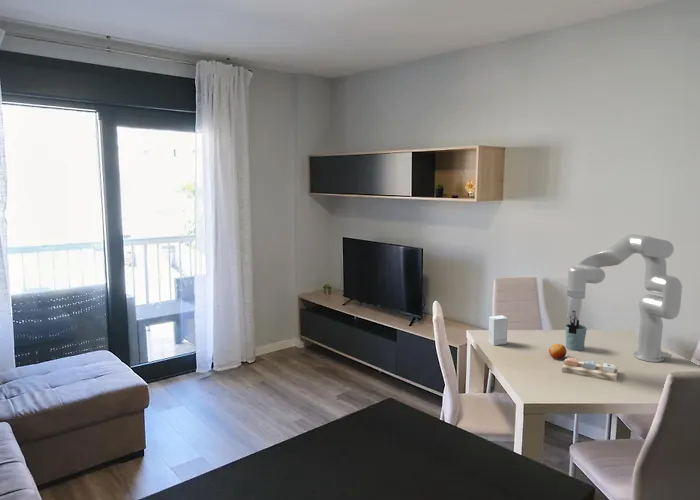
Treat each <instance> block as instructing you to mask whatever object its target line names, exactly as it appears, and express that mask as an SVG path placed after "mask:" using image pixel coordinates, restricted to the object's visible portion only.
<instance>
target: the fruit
mask: <svg viewBox="0 0 700 500" xmlns="http://www.w3.org/2000/svg"><path fill="white" fill-rule="evenodd" d="M548 353H549V355H550V356H551V358H554V359H555V360H565V359H566V358H565V357H566V354H567V348H566V346H564V344H562V343H554V344H552V345H551V346H550V347H549V348H548Z"/></svg>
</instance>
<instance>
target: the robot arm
mask: <svg viewBox="0 0 700 500" xmlns="http://www.w3.org/2000/svg"><path fill="white" fill-rule="evenodd" d="M674 249H675V248H674V245H673V243H672V242H670V241H669V240H667V239H661V238H657V237H653V236H647V235H640V234H631V233H629V234H627V235H624V236H623V237H622V238H620V239H619V240H617V242H615V243H614V244H613V245H611V246H610V247H609V248H608V249H606V250H603V251H600V252H597V253H594V254H591V255H589V256H587V257H585V258H583V259H582V260H581V261H579V263H577V264H576V265H575V266H571V267H569V268H568V272H567V273H568V274H567V287H566V297H567V298H568V302H567V303H568V304H567V313H566V314H567V315H566V319H567V320H569V323H568V324H569V333H572V334H576V331H577V329H578V328H579V324H580V318H581V313H582V304H583V300H584V299H585V298H586V287H587V284H596V285H597V284H600V283H602V282H603V281H604V280H605V278H606V273H605V271H604V269H602V268H604V267H614V266H619V265H621V264H622V263H623V262H625V261H626V260H627V259H629V258H630V257H631V256H633V255H634V254H640V256H641V257H642V258H643V259H644V262H645V272H644V273H645V274H644V289H645V290H646V291H648V292H650V293H653V294H650V293H649V294H644V295H643V296H641V297H640V299H639V303H638V308H639V317H640V319H639V330H638V331H639V332H638V342H637V343H638V344H637V345H638V346H637V351H634V352H633V356H634V358H637V359H639V360H640V361H645V362H651V363H659V362H663V361H664V359H665V358H668V359H672V353H669V352H665V351H663V350H662V338H663V325H664V324H663V319H666V320H674V319H675V318H677V317H678V316H679V314H680V311H681V304H682V302H681V301H682V294H683V293H682V292H683V286H682V282H681V280H680V279H679V278H678V277H675V276H672V275H668V274H667V261H666V259H669V258H670V257H672V255H673V253H674V252H675V250H674ZM656 294H658V295H656ZM660 295H661V296H660ZM662 318H663V319H662Z"/></svg>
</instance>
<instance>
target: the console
mask: <svg viewBox="0 0 700 500" xmlns="http://www.w3.org/2000/svg"><path fill="white" fill-rule="evenodd" d="M566 360H567V358H564V361H563V364H562V367H561V372H562V373H567V374H570V375H571V374H572V375H577V376H583V377H588V378H594V379H600V380H606V381H611V382H617V379H618V367H617V366H615V368H614V373H609V372H604V371H602V368H603V364H600V363H596V368H595V370H592V369H586V368H584V362H585V361H582V360H581V361H580V360H578V365H577V367H574V366H568V365H566Z"/></svg>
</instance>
